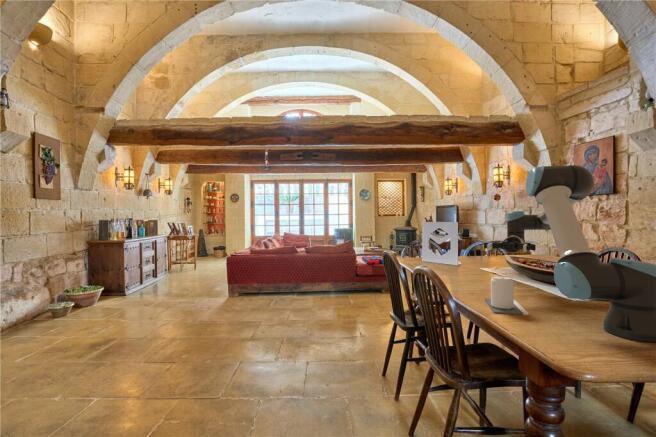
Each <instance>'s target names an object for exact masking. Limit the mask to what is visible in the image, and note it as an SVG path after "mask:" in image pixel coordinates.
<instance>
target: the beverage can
mask: <svg viewBox="0 0 656 437" xmlns="http://www.w3.org/2000/svg"><path fill="white" fill-rule="evenodd" d="M514 285H515V284H514V280H513V278H512V277H511V276H508V275H493V276H492V277H491V279H490V299H491V305H492V306H494V307H495V308H498V309H511V308H513V307H514V300H515V298H514V297H515V295H514V292H515V291H514Z"/></svg>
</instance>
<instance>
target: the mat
mask: <svg viewBox="0 0 656 437" xmlns="http://www.w3.org/2000/svg"><path fill="white" fill-rule="evenodd" d="M484 301H485V302H486V304H487V305H488V306H489V308H490V310H491V311H492V312H493V314H504V315H517V316H529V312H528V311H527V310H526V309H525V308H524V307H523V306H522V305H521V304H520V303H519V302H518V301H517V300H516V299H514V307H513V308H511V309H498V308H495V307H494V306H492V305H491V298H484Z"/></svg>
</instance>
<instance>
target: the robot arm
mask: <svg viewBox="0 0 656 437" xmlns="http://www.w3.org/2000/svg"><path fill="white" fill-rule="evenodd" d="M525 180H526V181H525V192H526V195H527V196H529V197H532V198H533V197H534V199H535V201H536V203H537V204H539V205H541V206H542V208H543V209H542V211H541V212H539V213H538V214H525V212H524V211H523V210H521V211H520V210H517V211H515V210H514V211H512V210H511V211H508V212H507V213H506V214H507V215H506V229H507V232H506V238H505V239H504V240H503V241H500V242H498V241H492V242H491V241H490V242H483V248H484V249H487V251H491V250H493V249H500V250H504V251H506V252H508V253H512V254H513V253H517V252H519V251H520V250H523V251H522V252H523V253H526V252H527V251H528V252H529V251H536V249H537V248H536V244H535V243H531V242H526V239H525V231H551V234H552V236H553V240H554V243H555V245H556V248H557V251H558V255H559V257H558V259H557V261H556V264H555V266H554V267H553V274H554V275H553V281H554V283H555V286H556V287H557V290H559V292H560V293H561V294H562V295H564V296H565V297H566V298H568V299H573V300H579V301H581V300H582V301H584V300H585V301H587V300H589V301H590V300H595V301H597V300H601V301H603V300H604V301H609V303H610V304H609V308H608V311H607V313H606V315H605V316H604V317H605V318H604V319H603V323H602V327H603V330H604V331H605V332H607V333H609V334H612V335H615V336H617V337H621V338H623V339H629V340H633V341H640V342H648V343H656V264H655V263H651V262H646V261H641V260H633V259H628V258H620V257H619V258H618V257H611V258H609V262H602V261H601V259H600V257H599V254H598V253H596V252H594V251H591V249H590V246H589V244H588V242H587V239H586V236H585V235H584V232H583V229H582V227H581V224H580V222H579V219H578V216H577V215H576V212H575V210H574V208H573V206H574V205H575V204H576V203H577V202H579V201H582V200H585V199H586V198H587V197H588V196H589V195H590V194H591V193H592V191H593V189H594V187H595V177H594V175H593V174H592V173H591V171H590V170H588V168H586V167H583V166H581V165H577V164H569V165H546V166H545V165H542V166H534V167H532V168H531V169H530V170H529V171H528V174H527V176H526V179H525Z"/></svg>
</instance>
